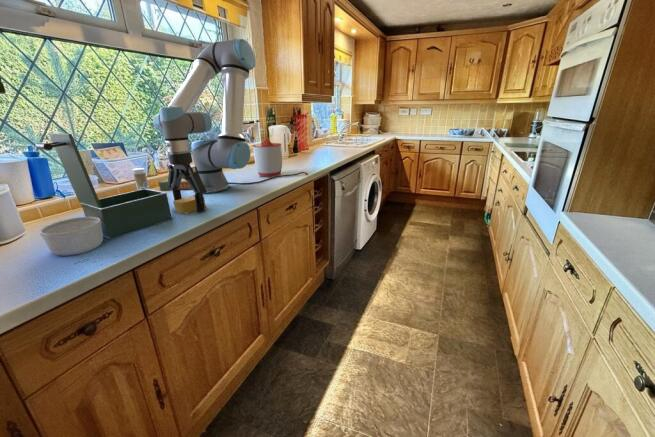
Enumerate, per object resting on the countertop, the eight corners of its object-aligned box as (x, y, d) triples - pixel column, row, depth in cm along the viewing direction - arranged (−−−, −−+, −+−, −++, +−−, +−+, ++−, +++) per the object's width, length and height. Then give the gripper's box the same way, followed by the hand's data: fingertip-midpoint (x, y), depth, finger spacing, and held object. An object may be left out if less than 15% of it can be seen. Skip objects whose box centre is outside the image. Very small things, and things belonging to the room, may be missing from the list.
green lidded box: (151, 213, 112) (145, 188, 109) (172, 218, 105) (166, 192, 102) (90, 231, 96) (80, 203, 93) (110, 239, 90) (100, 209, 86)
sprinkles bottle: (147, 201, 127) (139, 169, 123) (137, 201, 128) (129, 169, 123) (154, 198, 132) (146, 167, 127) (144, 198, 132) (136, 167, 127)
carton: (192, 189, 144) (190, 180, 143) (159, 190, 145) (157, 181, 143) (199, 185, 152) (198, 176, 151) (168, 186, 153) (166, 177, 151)
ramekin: (113, 245, 85) (106, 222, 83) (52, 263, 76) (42, 238, 73) (100, 234, 93) (94, 213, 91) (44, 249, 84) (35, 226, 82)
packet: (196, 204, 120) (194, 195, 119) (205, 206, 117) (204, 196, 116) (175, 211, 113) (173, 201, 112) (184, 213, 110) (182, 203, 109)
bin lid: (52, 133, 85) (26, 136, 81) (71, 133, 78) (44, 137, 74) (81, 201, 93) (60, 207, 89) (101, 207, 86) (79, 214, 82)
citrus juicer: (268, 171, 181) (264, 137, 174) (289, 174, 171) (286, 137, 164) (247, 176, 169) (243, 139, 162) (269, 179, 159) (266, 140, 152)
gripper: (149, 152, 111) (162, 206, 118) (191, 155, 98) (202, 216, 106) (169, 149, 117) (179, 202, 124) (210, 152, 104) (219, 210, 111)
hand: (190, 208), depth 115 cm, fingers open, 13 cm apart
